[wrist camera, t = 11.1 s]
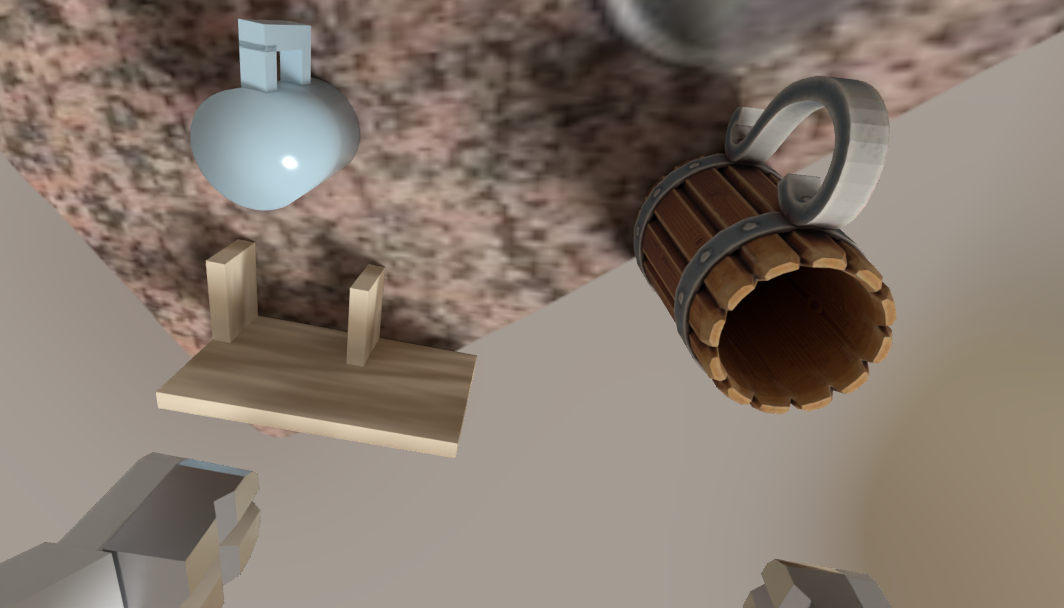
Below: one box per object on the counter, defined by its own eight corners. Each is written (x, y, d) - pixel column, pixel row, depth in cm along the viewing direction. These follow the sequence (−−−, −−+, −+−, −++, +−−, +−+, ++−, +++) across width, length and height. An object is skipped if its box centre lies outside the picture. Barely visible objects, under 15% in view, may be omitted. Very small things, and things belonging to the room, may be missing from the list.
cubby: (237, 239, 38) (142, 303, 29) (489, 287, 39) (472, 363, 30) (242, 326, 41) (158, 407, 32) (474, 368, 42) (455, 458, 33)
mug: (761, 304, 39) (872, 446, 26) (618, 289, 39) (654, 425, 26) (838, 73, 32) (1046, 104, 19) (664, 53, 32) (747, 70, 18)
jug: (262, 12, 31) (178, 7, 24) (365, 34, 32) (311, 35, 25) (266, 164, 35) (195, 197, 28) (357, 182, 36) (310, 220, 29)
